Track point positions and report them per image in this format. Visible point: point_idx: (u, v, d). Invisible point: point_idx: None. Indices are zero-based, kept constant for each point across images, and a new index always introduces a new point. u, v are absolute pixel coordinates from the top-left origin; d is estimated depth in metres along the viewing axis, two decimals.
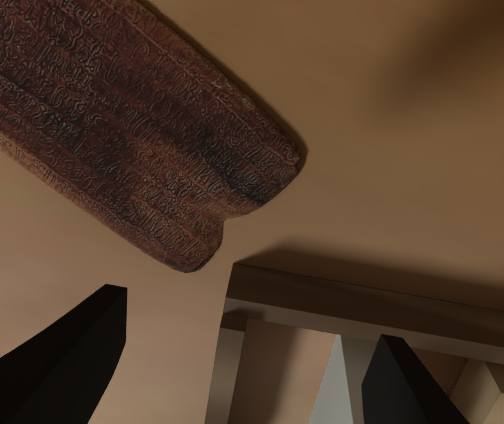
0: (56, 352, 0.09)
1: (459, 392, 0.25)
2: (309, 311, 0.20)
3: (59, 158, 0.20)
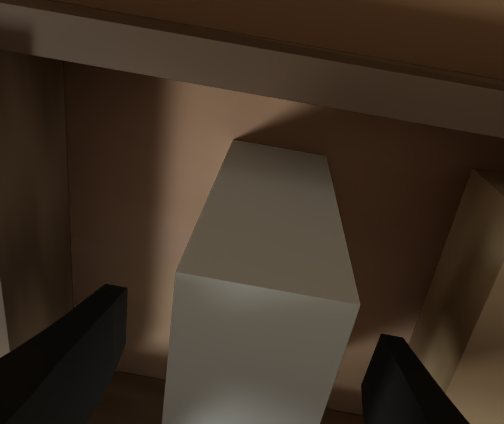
0: (56, 352, 0.09)
1: (447, 262, 0.14)
2: (123, 23, 0.09)
3: None
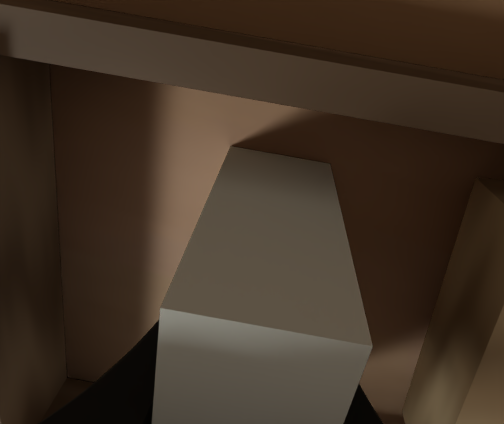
0: (154, 370, 0.09)
1: (454, 277, 0.13)
2: (109, 22, 0.09)
3: None
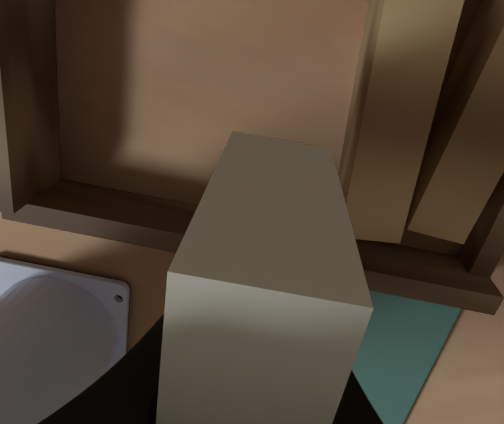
0: (154, 370, 0.09)
1: (361, 56, 0.17)
2: None
3: None
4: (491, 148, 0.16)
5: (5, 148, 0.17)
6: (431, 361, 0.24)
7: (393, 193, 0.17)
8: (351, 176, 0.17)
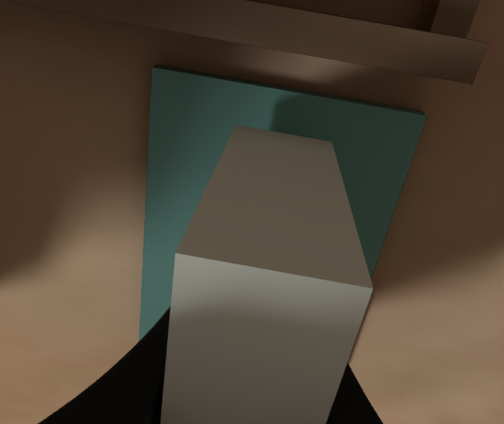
0: (154, 370, 0.09)
1: None
2: None
3: None
4: None
5: None
6: (385, 224, 0.15)
7: None
8: None
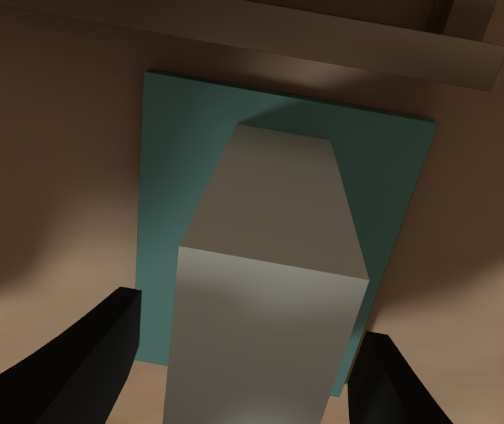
0: (75, 356, 0.09)
1: None
2: None
3: None
4: None
5: None
6: (391, 238, 0.15)
7: None
8: None
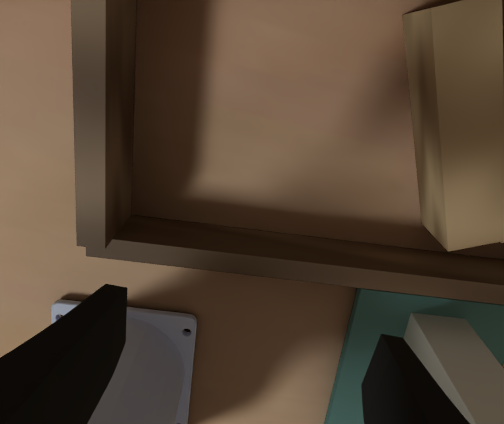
0: (56, 352, 0.09)
1: (413, 88, 0.19)
2: None
3: None
4: None
5: (102, 184, 0.17)
6: None
7: (486, 197, 0.18)
8: (444, 193, 0.18)
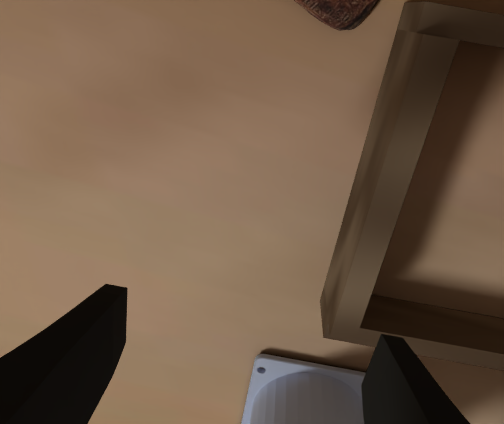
0: (56, 352, 0.09)
1: None
2: None
3: None
4: None
5: (369, 290, 0.19)
6: None
7: None
8: None
